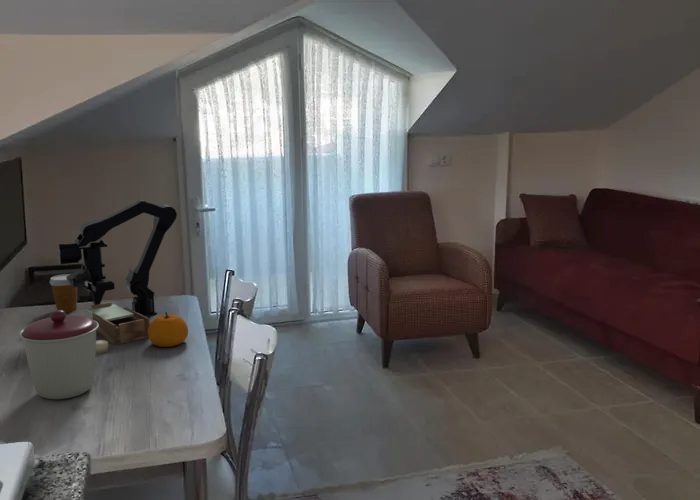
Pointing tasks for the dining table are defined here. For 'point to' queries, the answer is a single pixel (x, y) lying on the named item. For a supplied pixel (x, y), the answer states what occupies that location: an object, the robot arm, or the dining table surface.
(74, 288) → the disposable coffee cup
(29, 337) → the canister
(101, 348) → the tape roll
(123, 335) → the walnut box
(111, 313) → the lid
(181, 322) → the fruit
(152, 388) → the dining table surface
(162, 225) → the robot arm
